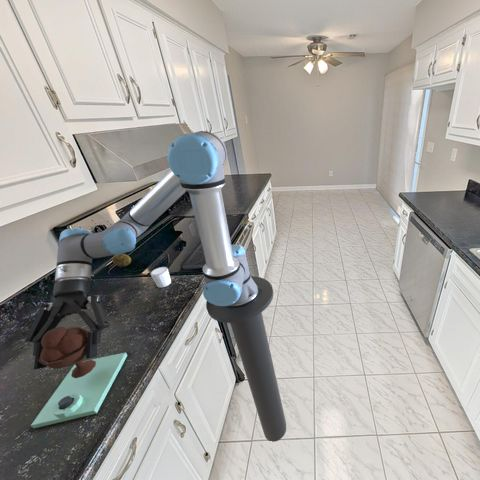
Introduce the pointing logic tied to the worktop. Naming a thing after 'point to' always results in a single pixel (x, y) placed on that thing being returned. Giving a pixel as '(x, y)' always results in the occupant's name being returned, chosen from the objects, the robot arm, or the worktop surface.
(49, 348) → the ice cream bowl
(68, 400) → the button
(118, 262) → the potato
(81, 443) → the worktop surface
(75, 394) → the scale
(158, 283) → the shot glass
